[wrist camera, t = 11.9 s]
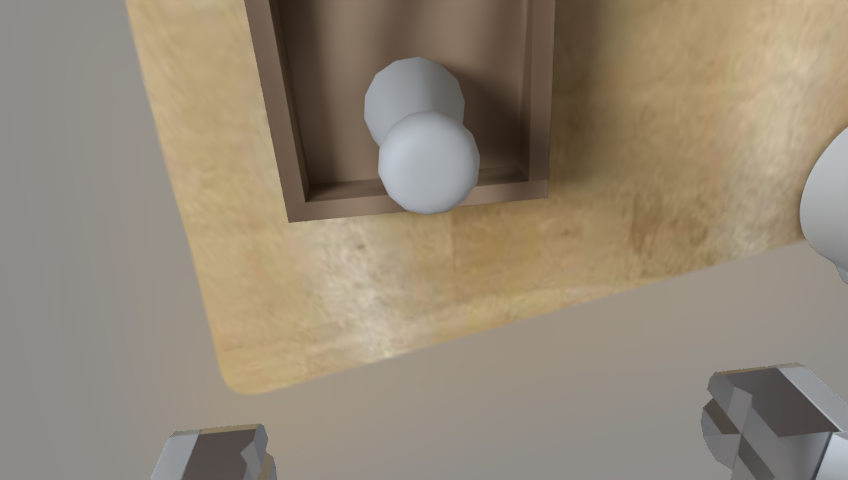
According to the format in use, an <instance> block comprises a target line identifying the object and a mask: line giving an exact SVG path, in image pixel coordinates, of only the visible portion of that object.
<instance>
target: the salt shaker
mask: <svg viewBox="0 0 848 480" xmlns="http://www.w3.org/2000/svg"><path fill="white" fill-rule="evenodd" d="M464 106H465V101H464V98H463V95H462V91H461V88H460V85H459V82H458V80H457V79H456V78H455V77H454V76H453V75H452V74H451V73H450V72H449V71H448V70H446V69H445V68H444V67H443V66H442V65H441V64H439V63H436V62H433V61H430V60H427V59H424V58H421V57H414V58H409V59H403V60H398V61H395V62H393V63H392V64H390V65H389V66H387V67H386V68H384V69H383V70H382V71H380V72H379V73H377V74H376V75H375V77H374V79H373V81H372V83H371V85H370V87H369V89H368V91H367V93H366V95H365V108H364V119H365V122H366V124H367V126H368V128H369V130H370V133H371V135H372V137H373V139H374V140H375V142H376V143H377V144H378V145H379V147H380V149H379V165H378V173H379V176H380V178H381V180H382V182H383V184H384V186H385V188H386V191H387V193H388V194H389V196H390V197H391V198H392V199H393V200H395V201H396V202H397V203H398V204H399V205H401V206H402V207H403V208H404V209H405V210H408V211H412V212H416V213H421V214H425V215H429V214H436V213H442V212H448V211H449V210H451V209H452V208H454V207H455V206H457V205H458V204H460V203H461V202H463V201H464V200H466V198H467V197H468V195H469V194H470V192H471V191H472V189H473V188H474V186H475V185H476V183H477V181H478V173H479V164H480V155H479V152H478V149H477V146H476V143H475V140H474V137H473V134H472V133H471V132H470V131H469V130H468V129H467V128H465V127H464V126H463V117H464Z"/></svg>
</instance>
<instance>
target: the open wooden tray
mask: <svg viewBox="0 0 848 480" xmlns="http://www.w3.org/2000/svg"><path fill="white" fill-rule="evenodd" d="M244 2H245V7H246V12H247V17H248V22H249V27H250V32H251V37H252V42H253V47H254V52H255V57H256V62H257V67H258V72H259V77H260V82H261V87H262V92H263V97H264V102H265V107H266V112H267V117H268V122H269V127H270V132H271V137H272V142H273V147H274V152H275V157H276V162H277V167H278V172H279V177H280V182H281V187H282V192H283V197H284V202H285V207H286V212H287V217H288V222H289V223H290V222H301V221H311V220H322V219H332V218H342V217H353V216H363V215H374V214H384V213H394V212H405V211H408V210H405V209H404V208H403V207H402V206H401V205H399V204H398V203H397V202H396V201H395V200H393V199H392V198H391V197H390V196H389V194H388V193H387V191H386V188H385V186H384V184H383V182H382V180H381V178H380V176H379V173H378V165H379V149H380V147H379V145H378V144H377V143H376V142H375V140H374V139H373V137H372V135H371V133H370V130H369V128H368V126H367V124H366V122H365V119H364V108H365V95H366V93H367V91H368V89H369V87H370V85H371V83H372V81H373V79H374V77H375V75H376V74H377V73H379V72H380V71H382V70H383V69H384V68H386V67H387V66H389V65H390V64H392V63H393V62H395V61H398V60H403V59H409V58H414V57H421V58H424V59H427V60H430V61H433V62H436V63H439V64H441V65H442V66H443V67H444V68H445V69H446V70H448V71H449V72H450V73H451V74H452V75H453V76H454V77H455V78H456V79H457V80H458V82H459V85H460V88H461V91H462V95H463V98H464V101H465V106H464V117H463V126H464V127H465V128H467V129H468V130H469V131H470V132H471V133H472V134H473V137H474V140H475V143H476V146H477V149H478V152H479V155H480V164H479V173H478V181H477V183H476V185H475V186H474V188H473V189H472V191H471V192H470V194H469V195H468V197H467V198H466V200H464V201H463V202H461V203H460V204H458V205H457V206H467V205H478V204H488V203H498V202H509V201H519V200H530V199H540V198H548V181H549V155H550V129H551V103H552V77H553V51H554V25H555V0H244ZM457 206H455V207H457Z"/></svg>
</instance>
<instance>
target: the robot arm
mask: <svg viewBox="0 0 848 480" xmlns="http://www.w3.org/2000/svg"><path fill="white" fill-rule="evenodd" d="M800 222H801V228H802V231H803V234H804V236H805V238H806V240H807V242H808V243H809V245H810V246H811V247H812V248H813V249H814V250H815V251H816V252H817V253H819V254H820V255H822V256H824V257H825V258H827V259H829V260H830V261H832V262H833V263H834V264H835V265H836V268H837V270H838V272H839V274H840V276H841V278H842V280H843V281H844V282H845V283H846V284H848V127H847V128H846V129H845V130H843V131H842V132H841V133H840V134H839V135H838V136H837V137H836V138H835V139H834V140H833V141H832V143H831V144H830V145H829V146H828V147H827V148H826V150H825V151H824V152H823V154H822V155H821V156H820V158H819V159H818V161H817V162H816V164H815V166H814V168H813V169H812V171H811V173H810V175H809V177H808V180H807V182H806V185H805V187H804V191H803V194H802V199H801V205H800ZM707 390H708V391H709V392H710V394H711V395H712V396H713V399H712V400H710V401H709V402H708V403H707V405H705V406H704V407H703V412H702V418H701V425H702V431H703V437H704V439H705V441H706V443H707V446H708V448H709V450H710V451H711V453H712V454H713V456H714V457H715V459H716V460H717V461H718V462H720V463H722V464H724V465H725V466H727V467H728V468H730V469H732V475H731V480H848V405H847V404H846V403H845V402H844V401H843V400H842V399H841V398H839V397H838V396H837V395H836V394H835V393H834V392H833V391H832V390H831V389H830V388H829V387H828V386H827V385H825V384H824V383H823V382H822V381H821V380H820V379H819V378H818V377H817V376H816V375H815V374H814V373H812V372H811V371H810V370H809V369H808V368H807V367H806V366H804V365H802V364H800V363H797V362H795V363H788V364H779V365H772V366H768V367H765V366H764V367H756V368H748V369H739V370H732V371H723V372H715V373H714V374H713V375H712V376H711V378H710V380H709V384H708V388H707ZM267 442H268V437H267V434H266V431H265V428H264V425H262V424H251V425H239V426H227V427H216V428H205V429H202V430H201V429H200V430H188V431H176V432H174V433H173V434H172V435H171V436H170V437H169V438H168V440H167V442H166V445H165V447H164V449H163V451H162V454H161V456H160V458H159V461H158V463H157V465H156V467H155V470H154V472H153V474H152V477H151V479H150V480H277V475H276V466H275V462H274V459H273V457H272V456H271V455H270V454H268V453H267V452H266V446H267Z"/></svg>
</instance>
